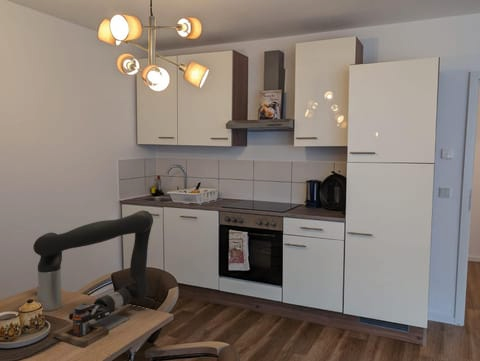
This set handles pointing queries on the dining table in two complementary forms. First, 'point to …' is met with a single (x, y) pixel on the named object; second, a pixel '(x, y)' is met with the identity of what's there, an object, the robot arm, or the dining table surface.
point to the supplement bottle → (79, 327)
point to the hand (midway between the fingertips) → (75, 318)
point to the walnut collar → (86, 340)
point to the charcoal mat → (110, 321)
